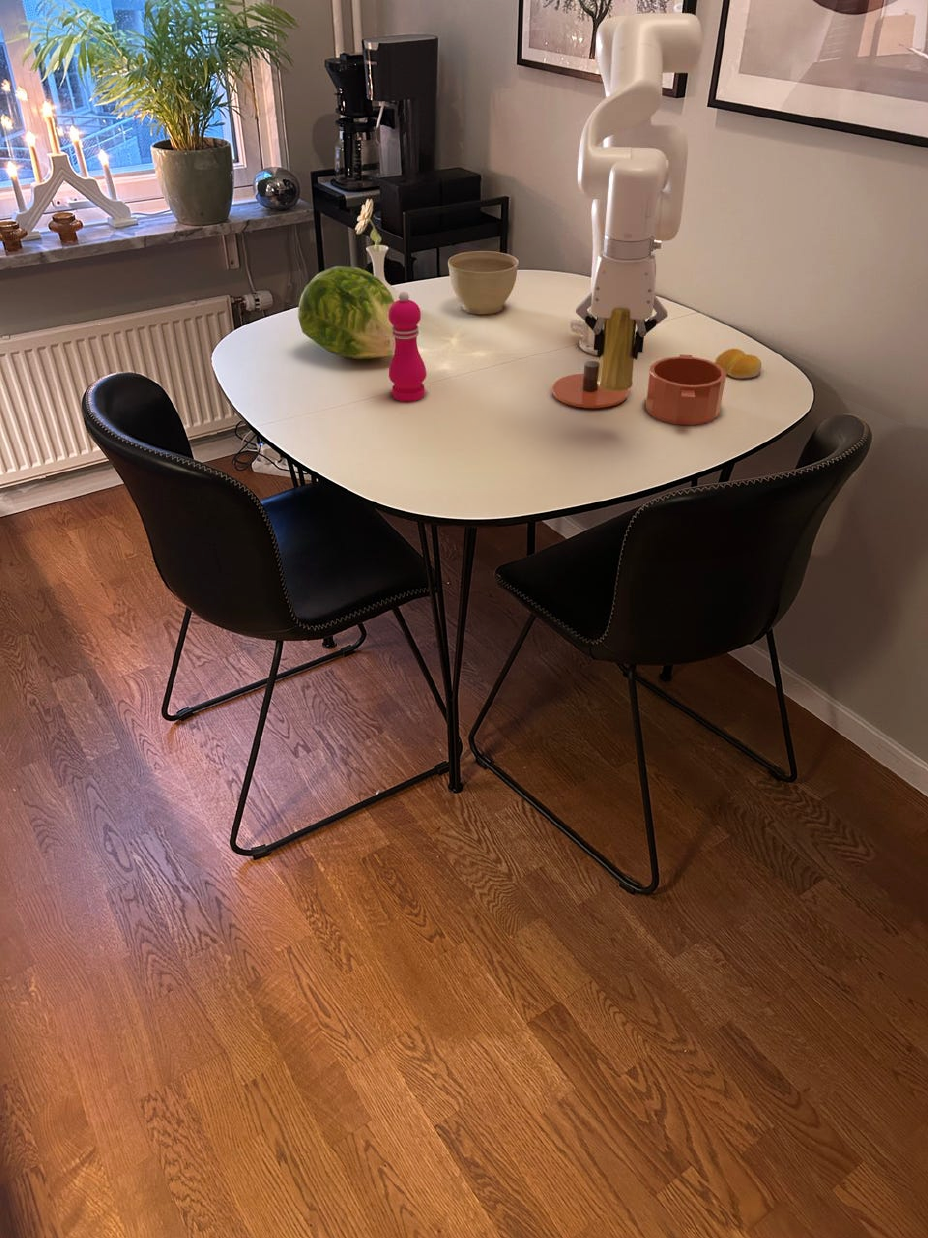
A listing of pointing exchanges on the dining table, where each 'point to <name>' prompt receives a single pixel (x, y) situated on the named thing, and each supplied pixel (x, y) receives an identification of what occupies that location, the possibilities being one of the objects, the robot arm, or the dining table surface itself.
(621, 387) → the vase
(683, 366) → the crock
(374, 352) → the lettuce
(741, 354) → the bread roll
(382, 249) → the flower in vase
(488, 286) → the planter bowl
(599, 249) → the robot arm
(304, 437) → the dining table surface
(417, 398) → the pepper mill
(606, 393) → the crock lid
